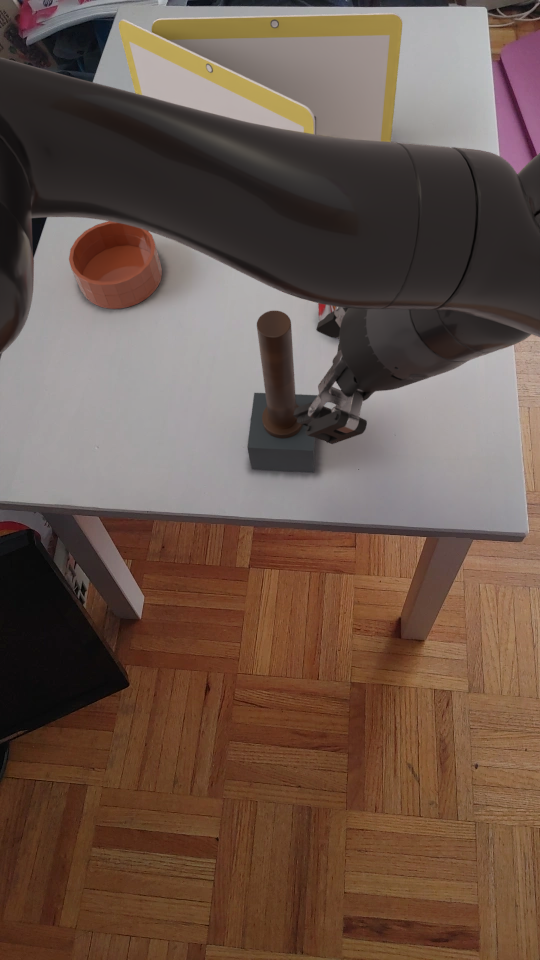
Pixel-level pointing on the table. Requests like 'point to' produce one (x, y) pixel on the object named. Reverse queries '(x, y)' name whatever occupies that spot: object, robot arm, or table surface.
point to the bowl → (115, 265)
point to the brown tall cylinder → (278, 374)
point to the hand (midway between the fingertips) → (314, 373)
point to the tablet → (275, 69)
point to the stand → (279, 442)
